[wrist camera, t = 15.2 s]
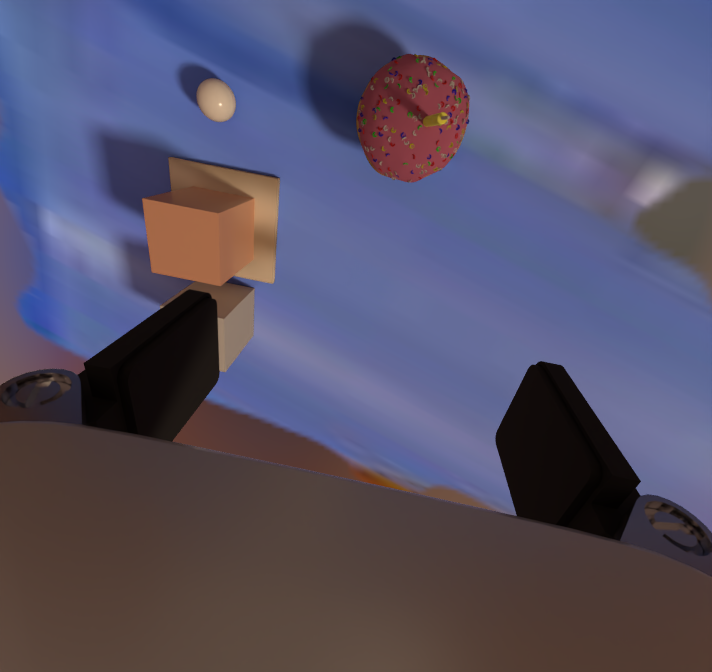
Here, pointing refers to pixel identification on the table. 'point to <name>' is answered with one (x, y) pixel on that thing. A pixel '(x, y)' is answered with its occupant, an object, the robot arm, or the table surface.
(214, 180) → the birch board
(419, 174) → the cupcake
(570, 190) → the table surface
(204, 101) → the cream marble
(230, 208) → the peach colored cube
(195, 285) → the beige block
